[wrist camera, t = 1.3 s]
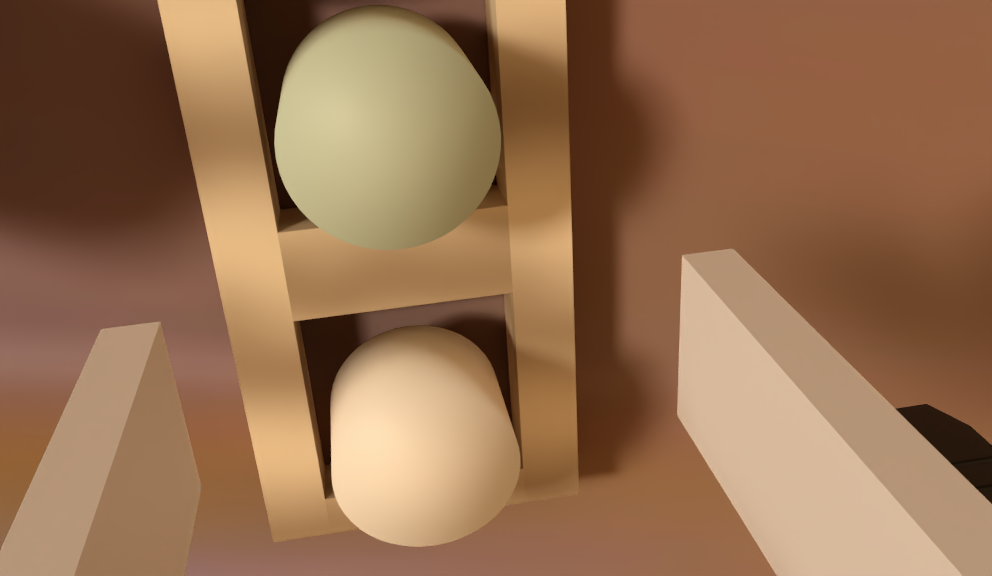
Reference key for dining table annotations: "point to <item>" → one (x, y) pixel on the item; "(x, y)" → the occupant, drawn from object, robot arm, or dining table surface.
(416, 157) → the olive rounded lump
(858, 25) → the dining table surface
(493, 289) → the wooden ladder frame
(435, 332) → the cream button
